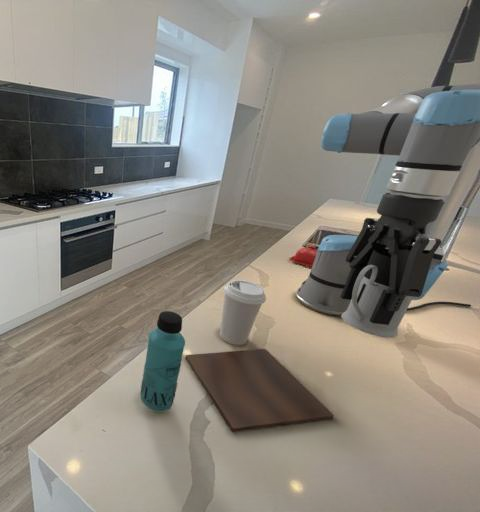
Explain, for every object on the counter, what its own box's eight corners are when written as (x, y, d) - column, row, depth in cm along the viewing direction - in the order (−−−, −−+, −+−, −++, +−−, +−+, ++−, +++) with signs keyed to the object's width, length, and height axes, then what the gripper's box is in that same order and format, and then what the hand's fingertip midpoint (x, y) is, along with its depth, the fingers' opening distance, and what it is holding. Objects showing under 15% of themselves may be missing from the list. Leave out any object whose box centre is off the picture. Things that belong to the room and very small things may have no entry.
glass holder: (408, 333, 58) (445, 262, 52) (361, 347, 53) (397, 270, 47) (358, 309, 65) (386, 245, 60) (313, 319, 60) (339, 251, 55)
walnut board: (264, 351, 74) (265, 348, 73) (332, 419, 56) (334, 415, 56) (185, 358, 70) (185, 355, 70) (232, 432, 53) (233, 428, 52)
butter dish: (296, 256, 139) (301, 239, 135) (325, 264, 130) (332, 246, 127) (286, 261, 132) (292, 243, 128) (317, 271, 124) (323, 252, 120)
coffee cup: (220, 322, 85) (231, 274, 79) (256, 336, 79) (271, 286, 74) (208, 337, 78) (220, 286, 72) (247, 354, 72) (263, 301, 67)
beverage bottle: (131, 403, 57) (142, 315, 50) (152, 385, 62) (164, 301, 54) (160, 425, 53) (176, 333, 46) (179, 404, 58) (197, 317, 50)
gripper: (350, 184, 60) (314, 283, 69) (447, 206, 41) (380, 340, 50) (391, 187, 59) (349, 287, 68) (509, 210, 40) (430, 347, 49)
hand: (362, 309), depth 59 cm, fingers closed on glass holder, 8 cm apart
